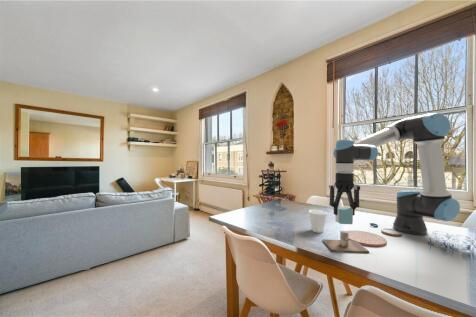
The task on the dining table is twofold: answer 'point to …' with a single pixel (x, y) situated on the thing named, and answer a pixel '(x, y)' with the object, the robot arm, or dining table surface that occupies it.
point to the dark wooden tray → (345, 244)
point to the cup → (317, 220)
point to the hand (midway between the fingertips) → (343, 221)
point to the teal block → (345, 215)
